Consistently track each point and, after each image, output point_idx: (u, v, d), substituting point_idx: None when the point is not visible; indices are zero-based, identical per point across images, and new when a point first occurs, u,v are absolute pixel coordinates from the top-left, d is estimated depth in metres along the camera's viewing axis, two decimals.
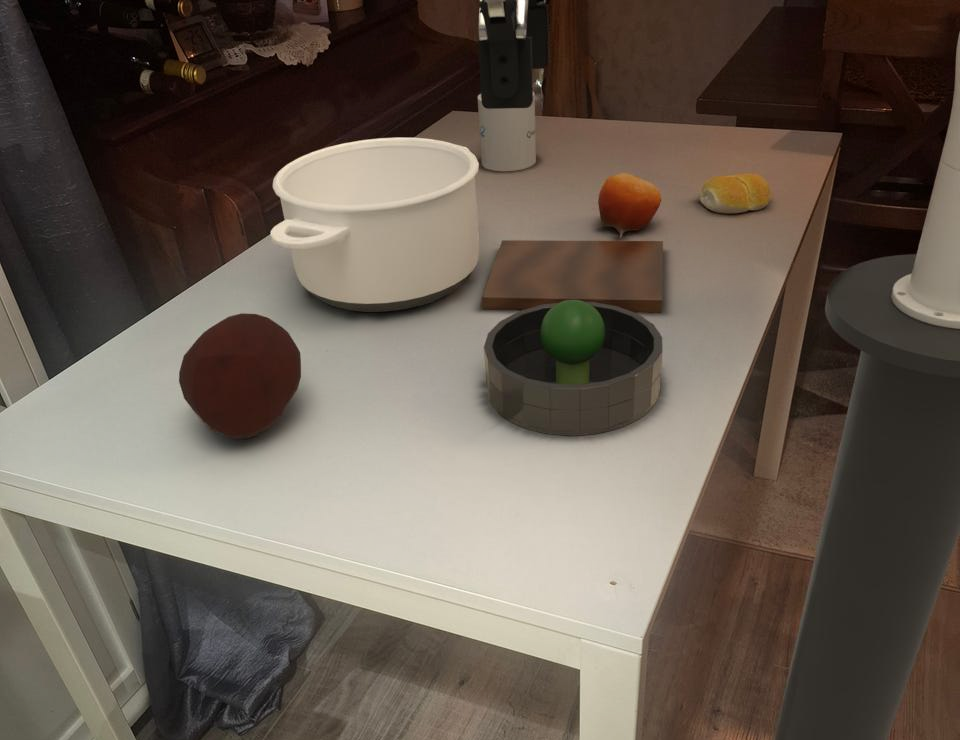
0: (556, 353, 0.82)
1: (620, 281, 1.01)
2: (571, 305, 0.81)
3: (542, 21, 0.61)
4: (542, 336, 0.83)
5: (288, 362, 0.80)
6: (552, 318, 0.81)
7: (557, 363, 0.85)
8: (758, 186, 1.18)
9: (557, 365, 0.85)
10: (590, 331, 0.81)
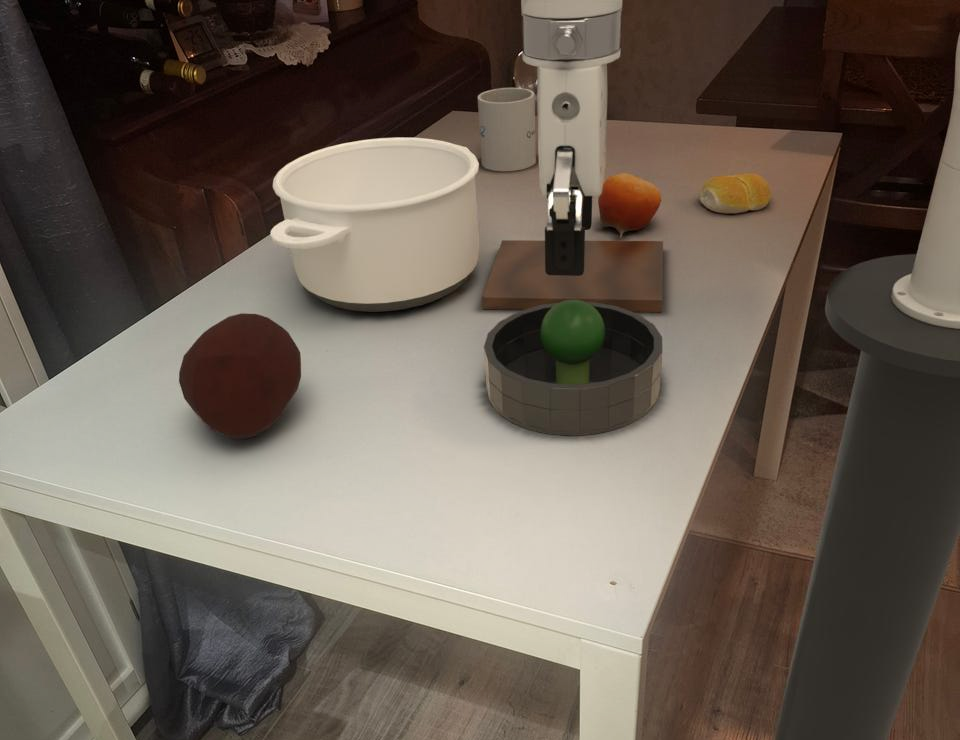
0: (556, 353, 0.82)
1: (620, 281, 1.01)
2: (571, 305, 0.81)
3: (587, 197, 0.80)
4: (542, 336, 0.83)
5: (288, 362, 0.80)
6: (552, 318, 0.81)
7: (557, 363, 0.85)
8: (758, 186, 1.18)
9: (557, 365, 0.85)
10: (590, 331, 0.81)
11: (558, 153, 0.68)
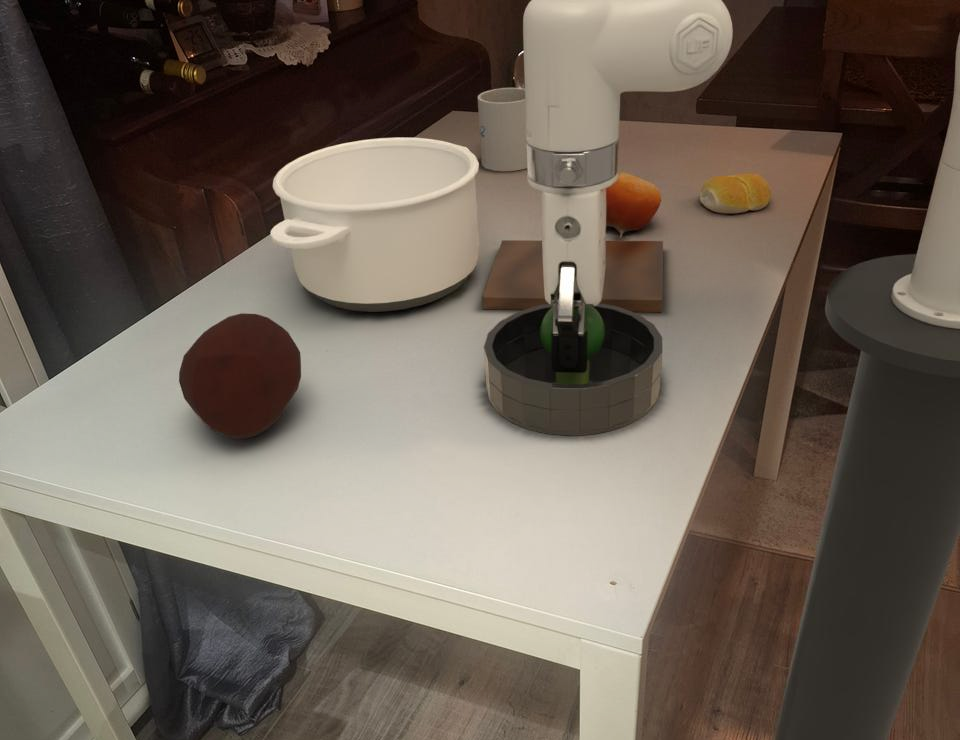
0: None
1: (620, 281, 1.01)
2: None
3: None
4: (542, 336, 0.83)
5: (288, 362, 0.80)
6: (552, 318, 0.81)
7: None
8: (758, 186, 1.18)
9: None
10: (590, 331, 0.81)
11: (561, 273, 0.74)
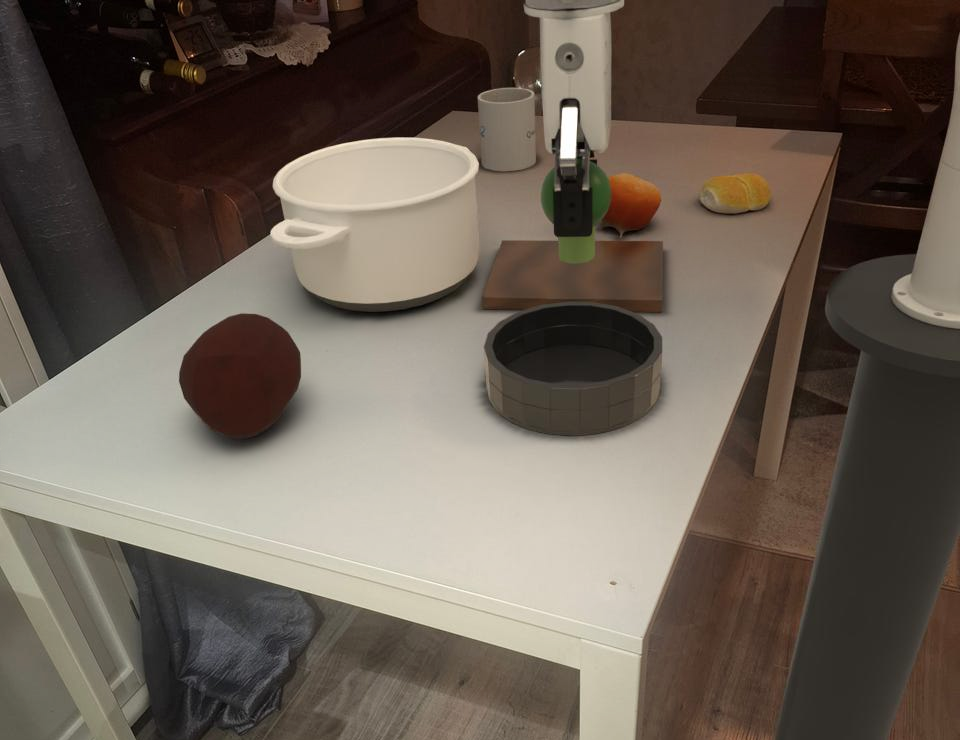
0: None
1: (620, 281, 1.01)
2: None
3: None
4: (542, 199, 0.76)
5: (288, 362, 0.80)
6: (553, 177, 0.74)
7: None
8: (758, 186, 1.18)
9: None
10: (595, 189, 0.73)
11: (563, 113, 0.67)
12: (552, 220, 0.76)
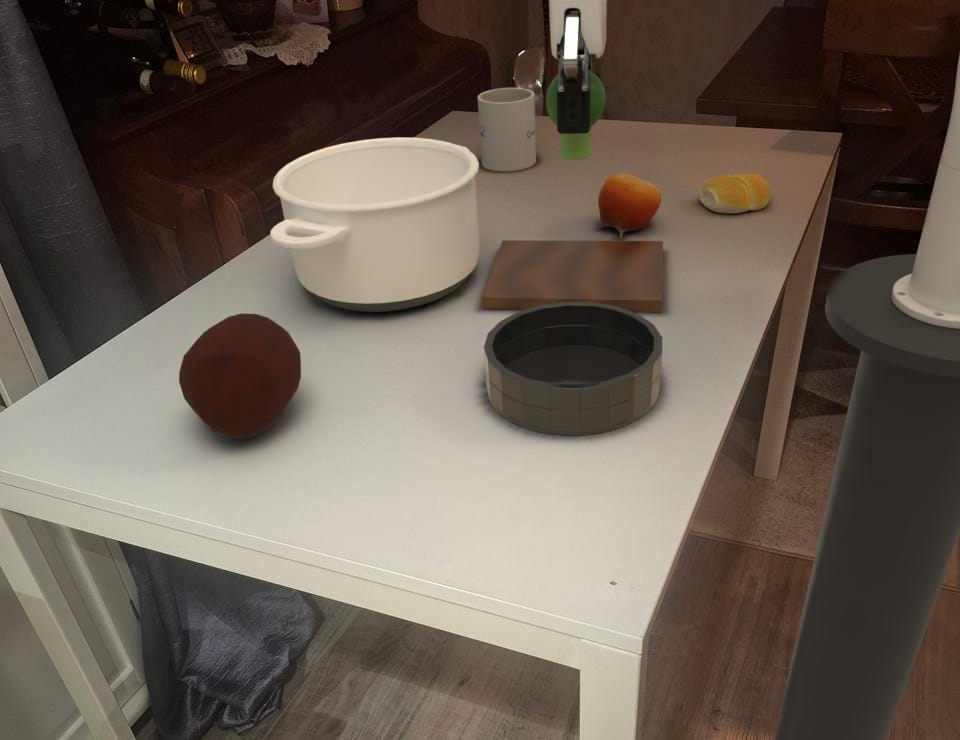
0: None
1: (620, 281, 1.01)
2: None
3: None
4: (547, 102, 0.89)
5: (288, 362, 0.80)
6: (557, 82, 0.88)
7: None
8: (758, 186, 1.18)
9: (561, 135, 0.91)
10: (592, 92, 0.87)
11: (566, 21, 0.81)
12: (555, 120, 0.90)
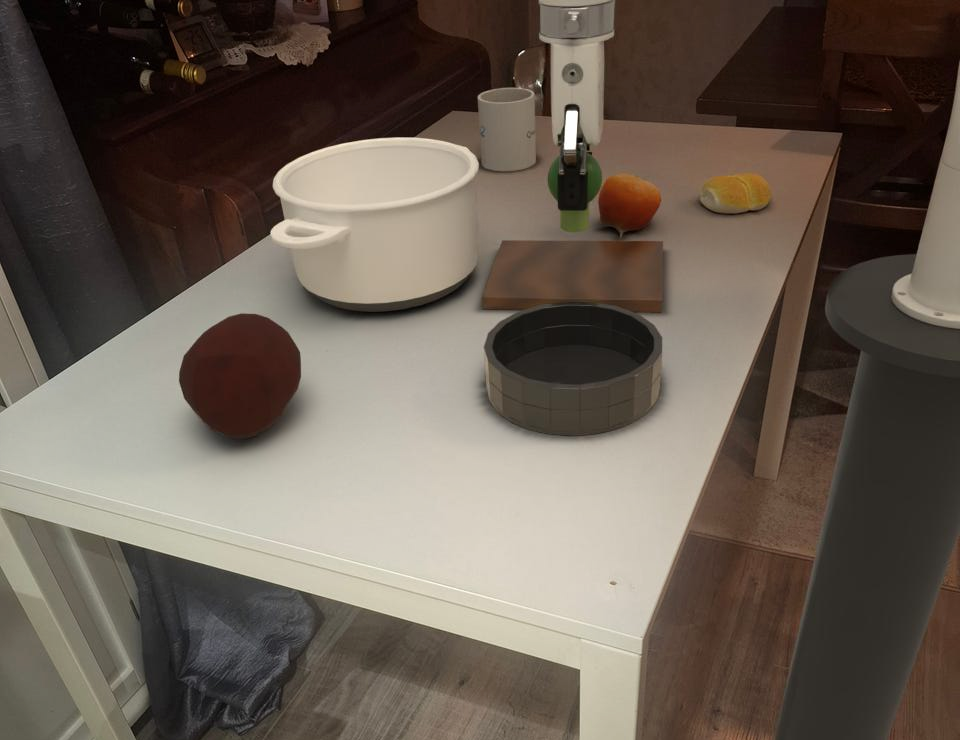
0: None
1: (620, 281, 1.01)
2: None
3: None
4: (549, 181, 0.98)
5: (288, 362, 0.80)
6: (557, 164, 0.96)
7: None
8: (758, 186, 1.18)
9: None
10: (589, 173, 0.96)
11: (567, 115, 0.90)
12: (556, 197, 0.98)
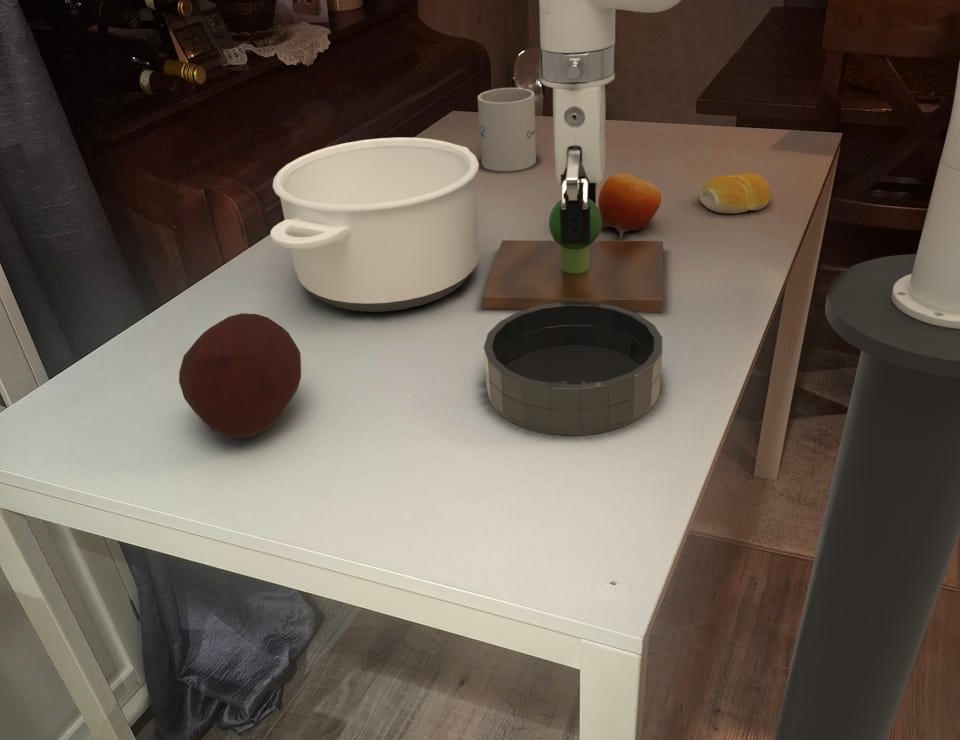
0: None
1: (620, 281, 1.01)
2: None
3: (592, 184, 1.03)
4: (550, 225, 1.01)
5: (288, 362, 0.80)
6: (558, 209, 1.00)
7: (562, 249, 1.03)
8: (758, 186, 1.18)
9: (562, 251, 1.03)
10: None
11: (569, 151, 0.92)
12: (557, 240, 1.01)
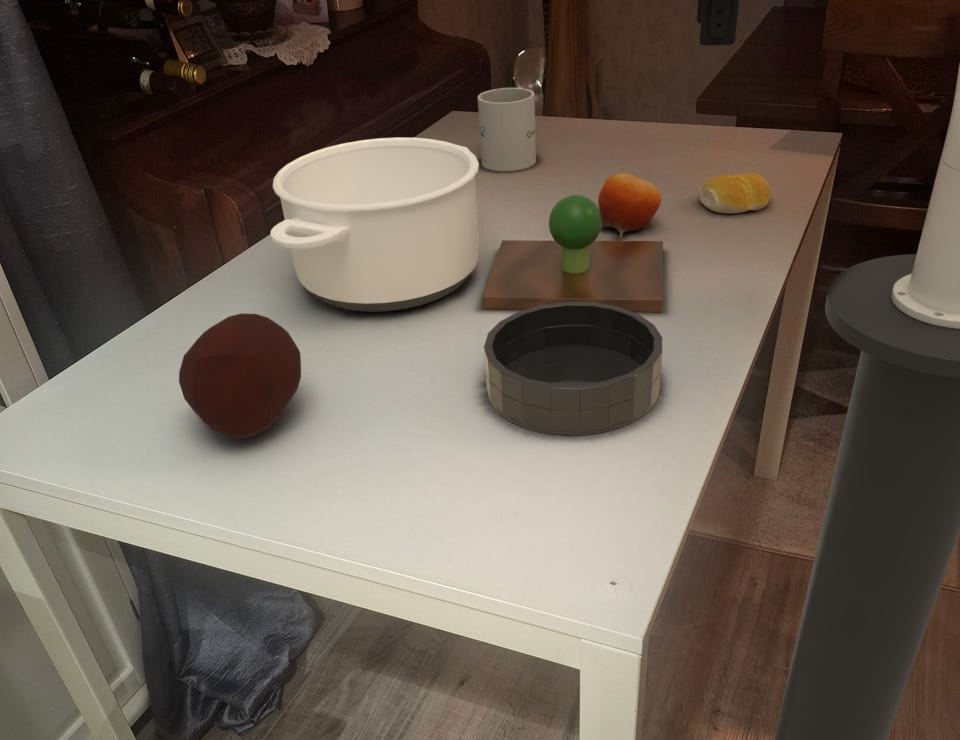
0: (562, 238, 1.00)
1: (620, 281, 1.01)
2: (574, 198, 0.99)
3: None
4: (550, 225, 1.01)
5: (288, 362, 0.80)
6: (558, 209, 1.00)
7: (562, 249, 1.03)
8: (758, 186, 1.18)
9: (562, 251, 1.03)
10: (589, 218, 0.99)
11: None
12: (557, 240, 1.01)
